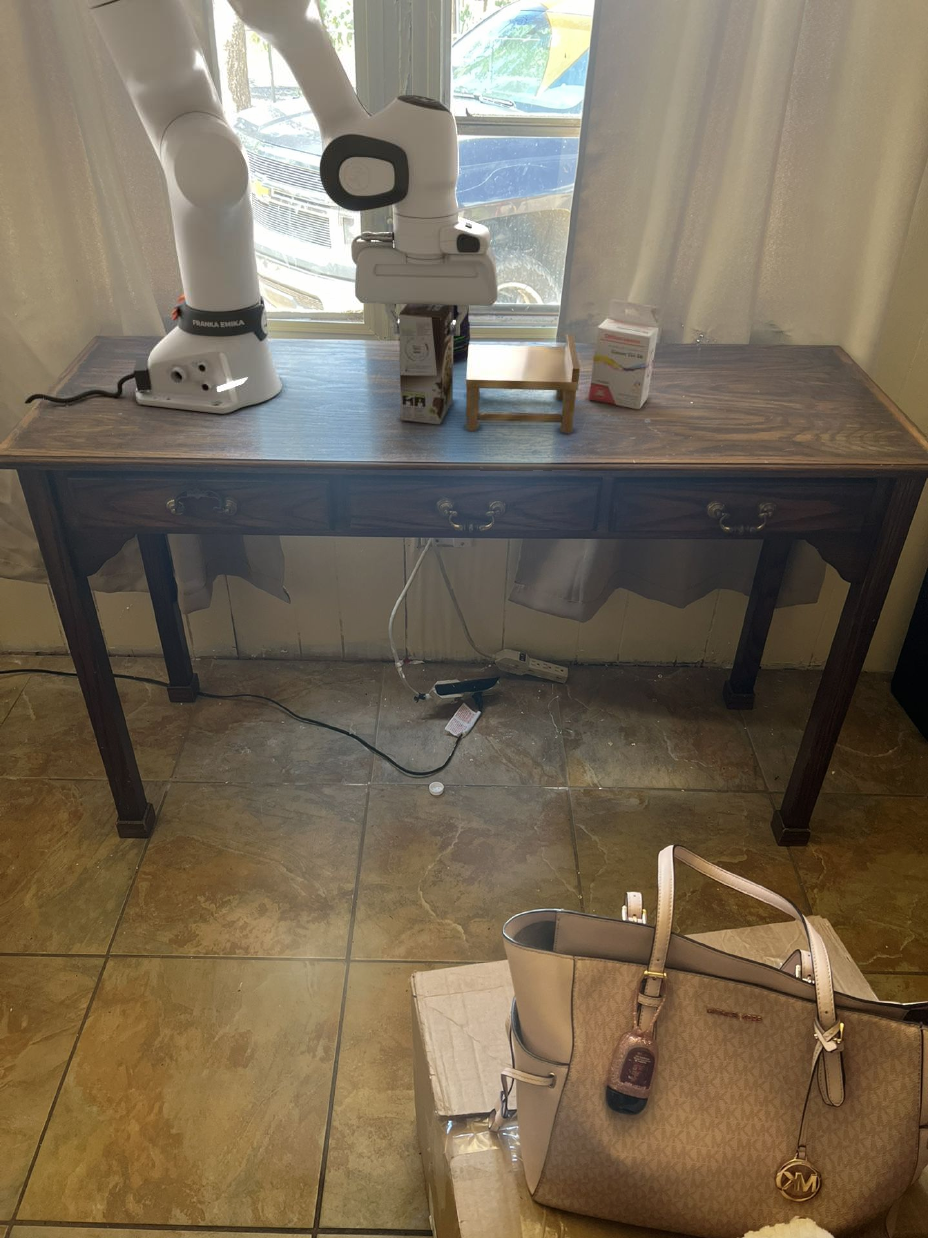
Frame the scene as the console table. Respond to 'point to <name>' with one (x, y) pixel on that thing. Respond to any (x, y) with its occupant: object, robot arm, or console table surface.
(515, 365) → the miniature wooden bench
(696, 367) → the console table surface
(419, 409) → the coffee box
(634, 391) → the ink cartridge box
